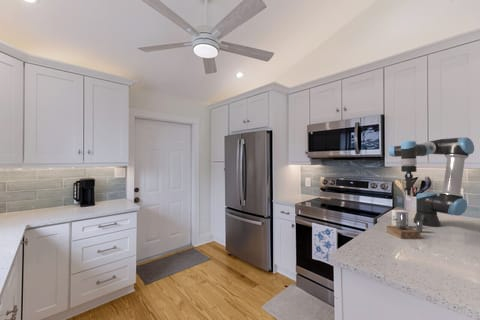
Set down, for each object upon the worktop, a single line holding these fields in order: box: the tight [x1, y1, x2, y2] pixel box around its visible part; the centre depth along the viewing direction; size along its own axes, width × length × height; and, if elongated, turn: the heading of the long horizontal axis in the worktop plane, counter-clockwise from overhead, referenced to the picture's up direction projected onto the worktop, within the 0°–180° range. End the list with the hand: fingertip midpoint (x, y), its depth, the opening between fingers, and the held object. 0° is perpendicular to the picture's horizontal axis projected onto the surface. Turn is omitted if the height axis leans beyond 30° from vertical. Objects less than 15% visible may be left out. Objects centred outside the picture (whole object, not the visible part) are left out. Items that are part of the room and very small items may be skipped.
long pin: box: [400, 213, 406, 230], centre depth 132 cm, size 3×3×14 cm
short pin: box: [415, 221, 423, 234], centre depth 139 cm, size 3×3×7 cm
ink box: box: [391, 209, 409, 227], centre depth 149 cm, size 9×5×12 cm, turn 84°
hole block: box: [386, 225, 421, 240], centre depth 132 cm, size 12×12×4 cm
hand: (409, 199), depth 132 cm, fingers open, 13 cm apart
